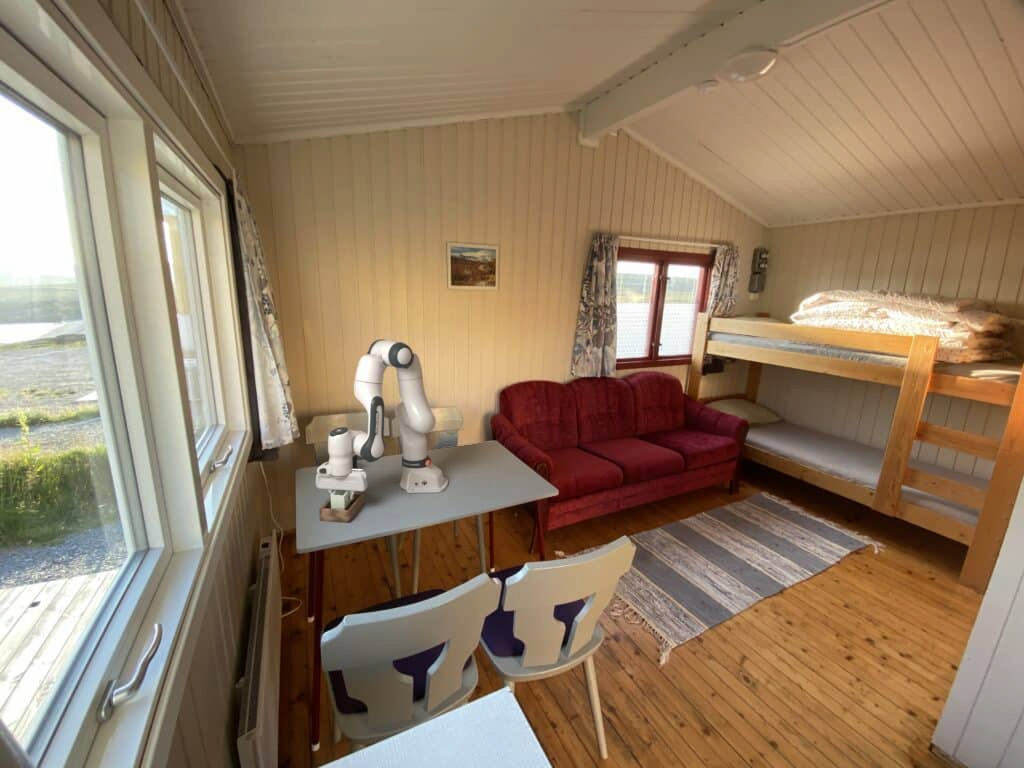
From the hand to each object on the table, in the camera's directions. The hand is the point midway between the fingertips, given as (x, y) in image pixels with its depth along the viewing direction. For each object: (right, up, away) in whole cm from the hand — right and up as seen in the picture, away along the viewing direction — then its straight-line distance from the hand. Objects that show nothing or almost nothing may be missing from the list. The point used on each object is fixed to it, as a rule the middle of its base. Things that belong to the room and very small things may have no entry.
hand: (342, 498), depth 175 cm
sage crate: (0, -2, 0) cm, 2 cm away
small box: (-12, +2, +34) cm, 36 cm away
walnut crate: (0, -6, +1) cm, 6 cm away
